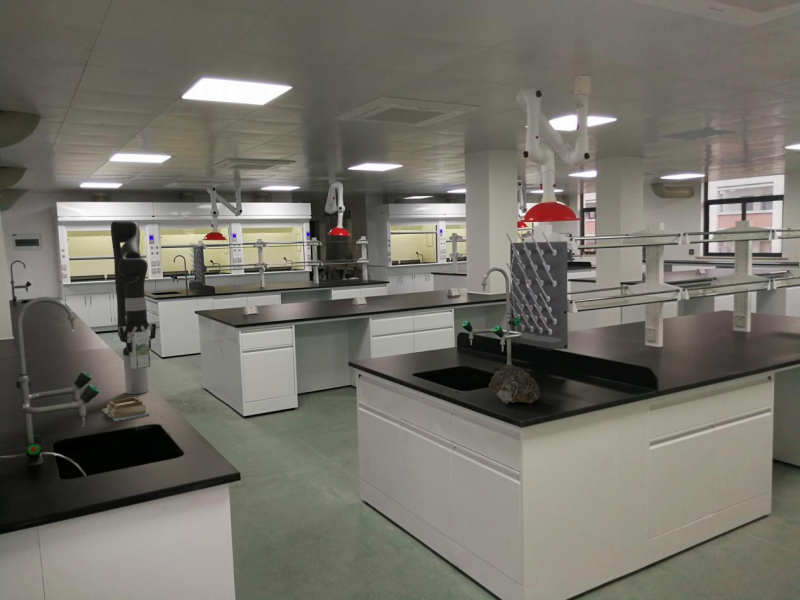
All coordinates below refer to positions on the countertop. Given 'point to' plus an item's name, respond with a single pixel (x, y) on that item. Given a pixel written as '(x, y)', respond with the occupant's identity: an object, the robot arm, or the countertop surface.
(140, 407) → the build plinth
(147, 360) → the syrup box
